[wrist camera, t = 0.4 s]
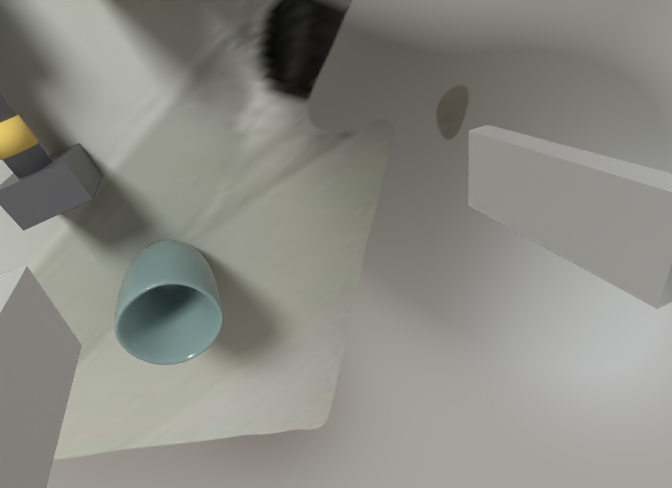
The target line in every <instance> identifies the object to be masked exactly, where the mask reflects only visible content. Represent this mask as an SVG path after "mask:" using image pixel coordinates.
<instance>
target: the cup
mask: <svg viewBox="0 0 672 488" xmlns="http://www.w3.org/2000/svg"><path fill="white" fill-rule="evenodd" d="M223 319H224V313H223V307H222V301H221V297H220V292H219V288H218V284H217V281H216V278H215V275H214V273H213V271H212V269H211V267H210V265H209V263H208V262H207V260H206V259H205V258H204V256H203V255H202V254H201V253H200V252H199V251H197V250H196V249H195V248H193V247H192V246H190V245H188V244H186V243H184V242H181V241H176V240H163V241H158V242H156V243H153V244H151V245H149V246H148V247H146V248H144V249H143V250H142V251H141V252H140V253H138V254H137V255H136V257H135V258H134V259H133V260H132V262H131V263H130V265H129V266H128V268H127V270H126V272H125V274H124V277H123V280H122V284H121V287H120V291H119V295H118V300H117V306H116V311H115V323H114V330H115V334H116V337H117V340H118V341H119V343H120V344H121V346H122V347H123V348H124V349H125V350H126V351H127V352H128V353H130V354H131V355H133V356H135V357H136V358H138V359H141V360H143V361H145V362H149V363H153V364H159V365H173V364H178V363H182V362H185V361H188V360H190V359H192V358H194V357H196V356H197V355H199V354H201V353H202V352H203V351H204V350H206V349H207V348H208V347H209V346H210V345H211V344H212V343H213V342H214V341H215V339H216V338H217V336H218V335H219V333H220V331H221V328H222V326H223Z"/></svg>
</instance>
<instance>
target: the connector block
mask: <svg viewBox="0 0 672 488" xmlns="http://www.w3.org/2000/svg"><path fill="white" fill-rule="evenodd" d="M49 158H50V159H51V160H52V161H53V162H52V163H51V164H50V165H48V166H47V167H45V168H43V169H41V170H39V171H37V172H35V173H33V174H31V175H28V176H26V177H23V178H18V177H17V176H16V175H15V174H14V173H13V174H12V175H11V176H10V177H9V178H8V179H7V180H5V181H4V182H3V183H2V184H1V185H0V205H1V206H2V207H3V209H4V210H5V211H6V212H7V213H8V214H9V215H10V216H11V217H12V218H13V220H14V221H15V222H16V223H17V224H18V225H19V226H20V227H21V228H22V229H23V230H26V229H28V228H30V227H32V226H34V225H37V224H39V223H41V222H43V221H45V220H48V219H50V218H52V217H54V216H57V215H59V214H61V213H63V212H65V211H68V210H70V209H72V208H74V207H76V206H79V205H81V204H83V203H85V202H87V201H90V200H92V199H93V197H94V195H95V193H96V191H97V188H98V186H99V184H100V182H101V179H102V177H103V175H102V174H101V173H100V171H99V170H98V168H97V167H96V166H95V164H94V163H93V161H92V160H91V159H90V157H89V156H88V154H87V153H86V152H85V150H84V149H83V147H82V146H81V145H80V143H79V144H77V145H75V146H72V147H70V148H68V149H65V150H63V151H61V152H58V153H56V154H54V155H51V156H49Z"/></svg>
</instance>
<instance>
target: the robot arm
mask: <svg viewBox="0 0 672 488" xmlns="http://www.w3.org/2000/svg"><path fill="white" fill-rule="evenodd" d="M468 153H469V155H468V159H469V160H468V164H469V165H468V206H470V207H471V208H473V209H475V210H477V211H479V212H481V213H482V214H484V215H486V216H488V217H490V218H492V219H493V220H495V221H497V222H499V223H501V224H503V225H505V226H506V227H508V228H510V229H512V230H514V231H516V232H517V233H519V234H521V235H523V236H525V237H526V238H528V239H530V240H532V241H534V242H536V243H537V244H539V245H541V246H543V247H545V248H547V249H548V250H550V251H552V252H554V253H556V254H558V255H559V256H561V257H563V258H565V259H567V260H568V261H570V262H572V263H574V264H576V265H578V266H579V267H581V268H583V269H585V270H587V271H589V272H591V273H592V274H594V275H596V276H598V277H600V278H602V279H604V280H605V281H607V282H609V283H611V284H612V285H614V286H616V287H618V288H620V289H622V290H623V291H625V292H627V293H629V294H631V295H633V296H635V297H636V298H638V299H640V300H642V301H644V302H645V303H647V304H649V305H651V306H653V307H655V308H656V309H658V308H660V307H662V306H664V305H666V304H668V303H670V302H672V174H671V173H667V172H663V171H659V170H655V169H652V168H648V167H645V166H641V165H637V164H633V163H630V162H625V161H622V160H618V159H615V158H611V157H607V156H603V155H600V154H596V153H592V152H588V151H585V150H581V149H577V148H573V147H570V146H566V145H562V144H559V143H555V142H551V141H547V140H543V139H540V138H536V137H532V136H528V135H525V134H521V133H517V132H513V131H510V130H506V129H502V128H498V127H495V126H491V125H485V126H482V127H479V128H475V129H472V130H469V144H468ZM81 346H82V345H81V344H80V342H79V341H78V339H77V338H76V336H75V335H74V334H73V332H72V331H71V329H70V328H69V326H68V325H67V323H66V322H65V321H64V319H63V318H62V316H61V315H60V313H59V312H58V310H57V309H56V307H55V306H54V305H53V303H52V302H51V300H50V299H49V297H48V296H47V294H46V293H45V292H44V290H43V289H42V287H41V286H40V284H39V283H38V281H37V280H36V278H35V277H34V276H33V274H32V273H31V271H30V270H29V268H28V267H27V266H26V267H23V268H19V269H16V270H13V271H10V272H6V273H3V274H0V488H46V487H47V482H48V479H49V474H50V471H51V466H52V462H53V458H54V454H55V450H56V446H57V442H58V438H59V434H60V430H61V426H62V422H63V418H64V414H65V410H66V406H67V402H68V398H69V394H70V390H71V386H72V382H73V378H74V374H75V370H76V366H77V362H78V358H79V354H80V350H81Z"/></svg>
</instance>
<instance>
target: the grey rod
mask: <svg viewBox="0 0 672 488" xmlns="http://www.w3.org/2000/svg"><path fill="white" fill-rule="evenodd" d="M0 160H3V161H4V162H5V163H6V164H7V166H8V167H9V168H10V169H11V170H12V172H13V173H14V174H15V175H16V176H17V177H18V178H23V177H26V176H28V175H31V174H33V173H35V172H37V171H39V170H41V169H43V168H45V167H47V166H48V165H50V164H51V163H52V162H53V161H52V160H51V159H50V158H49V156H48V155H47V154H46V152H45V151H44V150H43V149H42V147H41V146H40V145H39V141H38V140H37V138H36V137H35V136H34V134H33V133H32V132H31V130H30V129H29V128H28V127H27V125H26V124H25V123H24V121H23V120H22V119H21V117H20V116H19V115H16V114H15V112H14V111H13V110H12V108H11V107H10V106H9V105H8V103H7V102H6V101H5V99H4V98H3V97H2V96H1V94H0Z"/></svg>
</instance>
